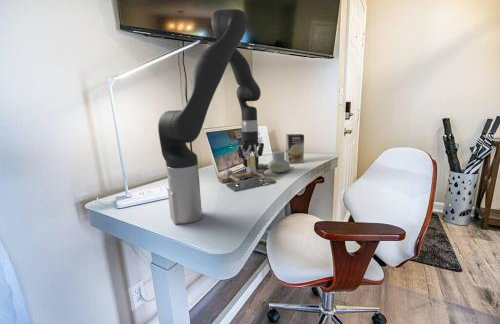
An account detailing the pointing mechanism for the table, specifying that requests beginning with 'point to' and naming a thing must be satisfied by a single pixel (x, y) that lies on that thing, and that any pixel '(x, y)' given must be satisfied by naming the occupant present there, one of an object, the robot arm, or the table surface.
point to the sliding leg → (252, 166)
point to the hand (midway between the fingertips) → (251, 165)
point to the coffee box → (295, 148)
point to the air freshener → (278, 162)
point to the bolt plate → (249, 183)
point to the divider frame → (236, 176)
